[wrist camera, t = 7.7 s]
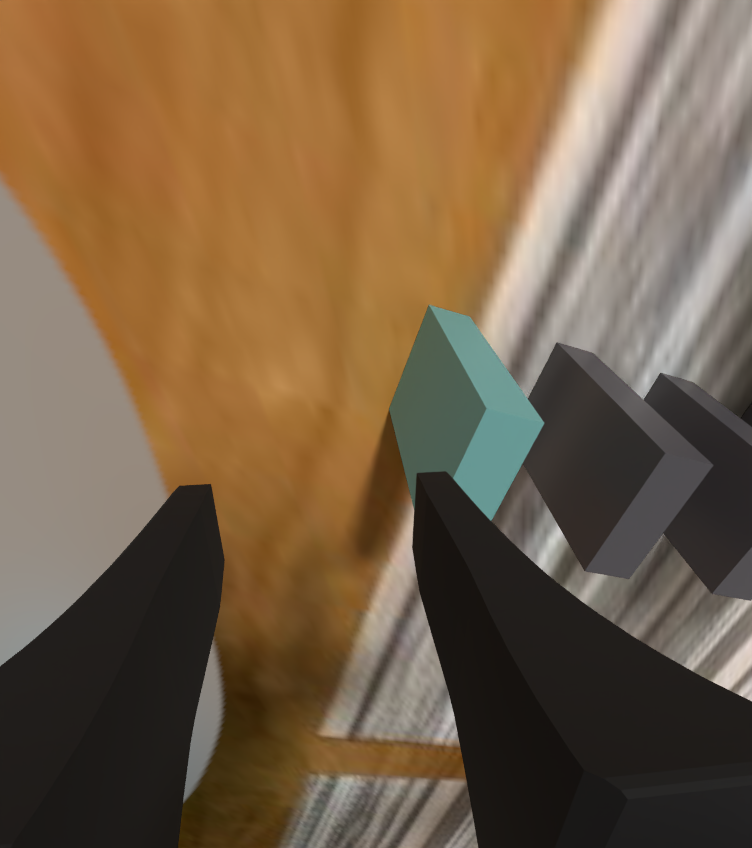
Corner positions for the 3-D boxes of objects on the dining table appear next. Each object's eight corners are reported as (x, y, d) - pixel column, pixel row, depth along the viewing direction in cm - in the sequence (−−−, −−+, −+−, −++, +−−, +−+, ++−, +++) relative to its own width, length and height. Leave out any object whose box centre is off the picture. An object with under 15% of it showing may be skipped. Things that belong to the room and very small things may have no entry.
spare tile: (469, 316, 20) (544, 422, 14) (426, 418, 22) (474, 551, 16) (428, 304, 20) (486, 408, 13) (389, 409, 22) (422, 542, 15)
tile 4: (592, 352, 21) (713, 465, 15) (541, 445, 24) (628, 578, 17) (556, 342, 21) (665, 452, 15) (508, 437, 23) (584, 571, 17)
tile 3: (692, 382, 23) (843, 497, 16) (636, 467, 25) (750, 600, 18) (660, 372, 22) (803, 487, 16) (605, 460, 24) (711, 593, 18)
